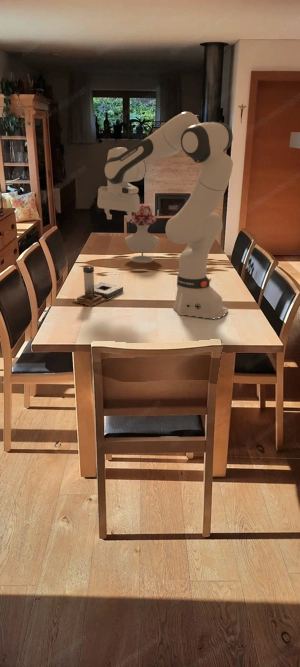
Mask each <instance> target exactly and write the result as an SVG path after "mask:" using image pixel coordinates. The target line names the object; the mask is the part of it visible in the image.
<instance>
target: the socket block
mask: <svg viewBox="0 0 300 667" xmlns="http://www.w3.org/2000/svg"><path fill="white" fill-rule="evenodd" d="M123 293H124V287H123V286H121V285H116V284H110V283H108V282H107V283H106V282H98V283H97V284H94V294H96V295H100V296H102V298H106V300H107V299H108V300H110V299H112V298H114V297H116V296H118V295H120V294H123ZM111 297H112V298H111ZM109 298H110V299H109Z"/></svg>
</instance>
